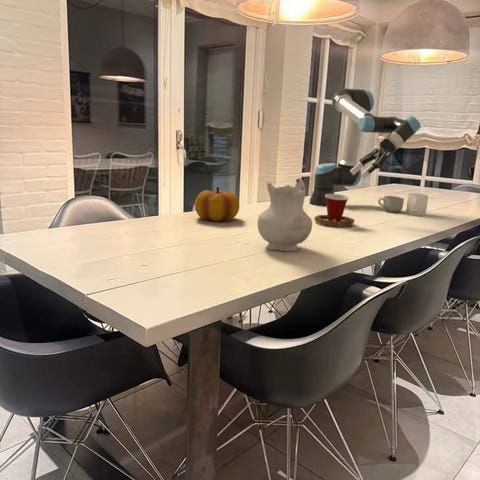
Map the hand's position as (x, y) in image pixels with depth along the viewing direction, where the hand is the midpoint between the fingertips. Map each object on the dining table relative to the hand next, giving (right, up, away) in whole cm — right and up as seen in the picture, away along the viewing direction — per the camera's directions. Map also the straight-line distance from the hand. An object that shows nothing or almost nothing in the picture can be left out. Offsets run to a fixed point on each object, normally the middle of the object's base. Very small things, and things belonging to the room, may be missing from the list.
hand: (356, 175), depth 226 cm
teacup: (+27, -15, +39) cm, 50 cm away
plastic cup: (-11, -22, -4) cm, 25 cm away
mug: (+40, -17, +34) cm, 55 cm away
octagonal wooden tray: (-11, -23, -4) cm, 26 cm away
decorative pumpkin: (-66, -21, -6) cm, 69 cm away
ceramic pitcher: (-39, -33, -51) cm, 72 cm away
